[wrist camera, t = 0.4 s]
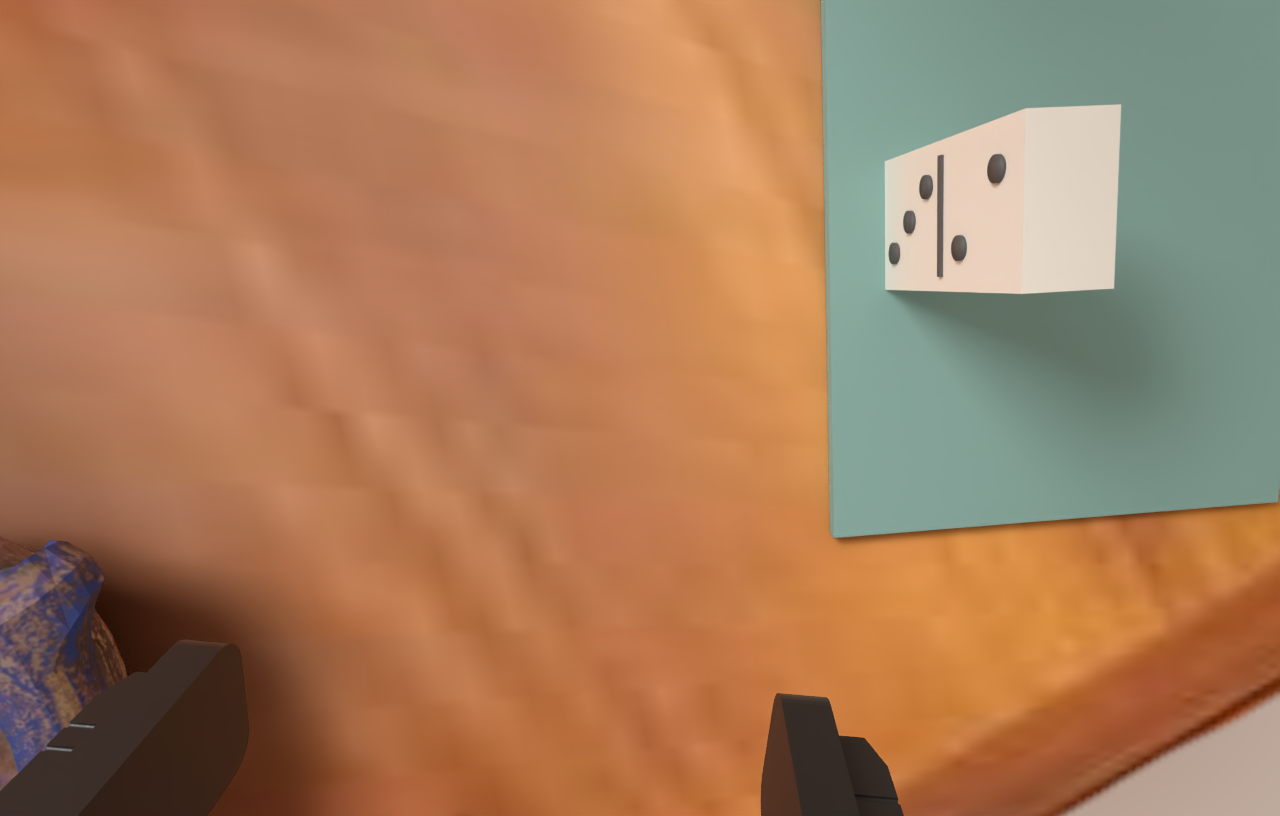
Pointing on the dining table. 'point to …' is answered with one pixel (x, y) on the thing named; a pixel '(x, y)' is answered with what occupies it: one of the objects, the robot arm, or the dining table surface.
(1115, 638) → the dining table surface
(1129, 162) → the mat
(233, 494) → the dining table surface
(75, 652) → the bowl
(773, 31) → the dining table surface
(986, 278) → the domino
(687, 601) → the dining table surface
